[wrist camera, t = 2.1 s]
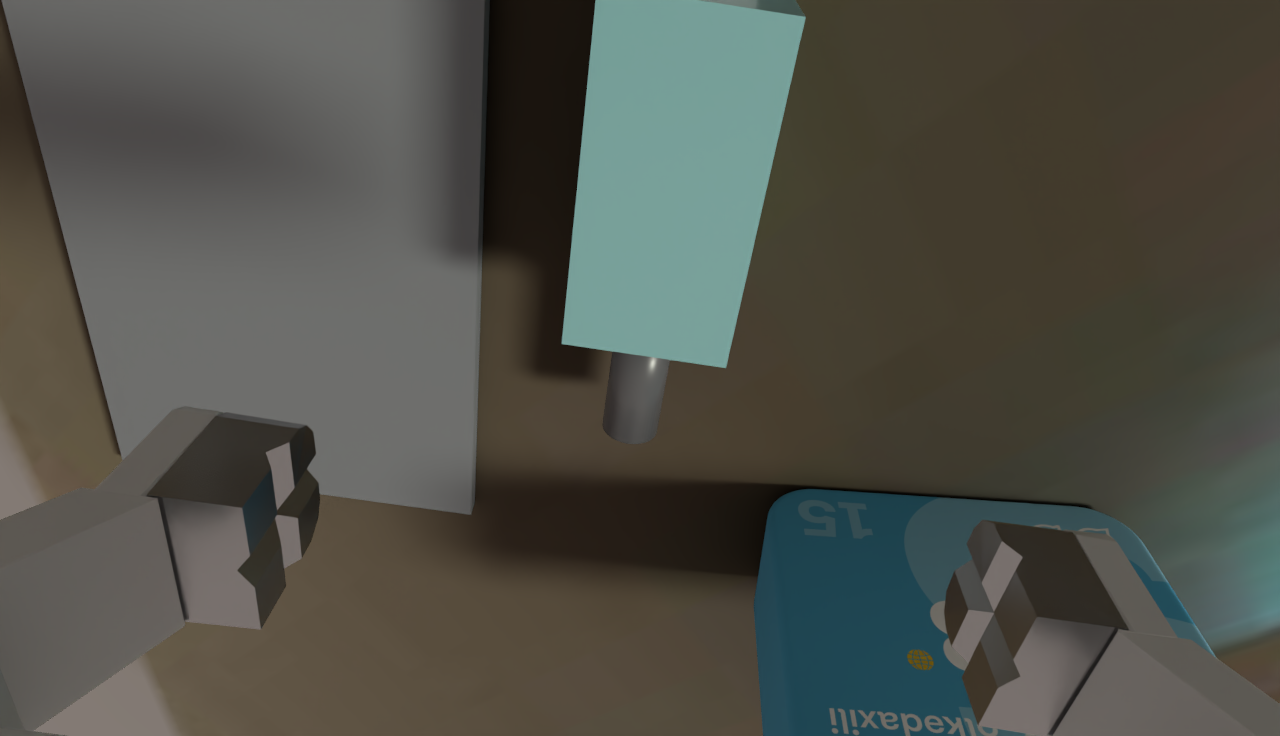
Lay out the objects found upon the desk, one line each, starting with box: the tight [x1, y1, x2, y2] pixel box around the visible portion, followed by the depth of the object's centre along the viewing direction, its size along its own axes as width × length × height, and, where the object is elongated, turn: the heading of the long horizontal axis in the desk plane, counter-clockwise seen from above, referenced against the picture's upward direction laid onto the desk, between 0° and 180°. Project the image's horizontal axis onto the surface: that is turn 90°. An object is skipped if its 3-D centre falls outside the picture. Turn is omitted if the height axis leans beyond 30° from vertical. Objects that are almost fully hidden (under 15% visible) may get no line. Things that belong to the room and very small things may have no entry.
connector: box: [562, 0, 805, 444], centre depth 20 cm, size 14×4×5 cm, turn 172°
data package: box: [754, 489, 1215, 736], centre depth 24 cm, size 12×4×12 cm, turn 88°
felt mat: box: [2, 0, 490, 515], centre depth 24 cm, size 18×12×1 cm, turn 173°
